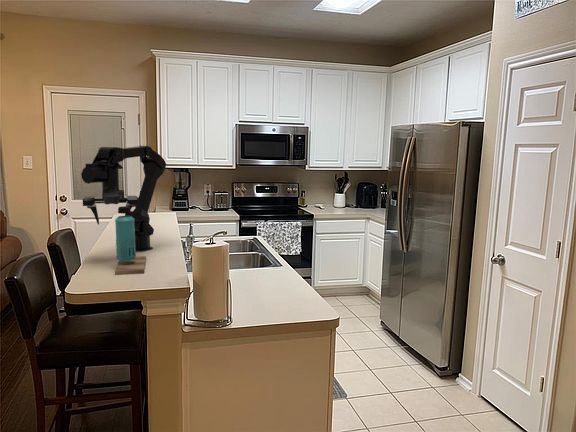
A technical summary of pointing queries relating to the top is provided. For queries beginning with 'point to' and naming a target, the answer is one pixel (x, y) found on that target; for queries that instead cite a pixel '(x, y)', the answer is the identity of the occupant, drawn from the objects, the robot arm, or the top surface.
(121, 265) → the walnut board
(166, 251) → the top surface
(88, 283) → the top surface
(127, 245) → the beverage bottle
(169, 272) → the top surface
